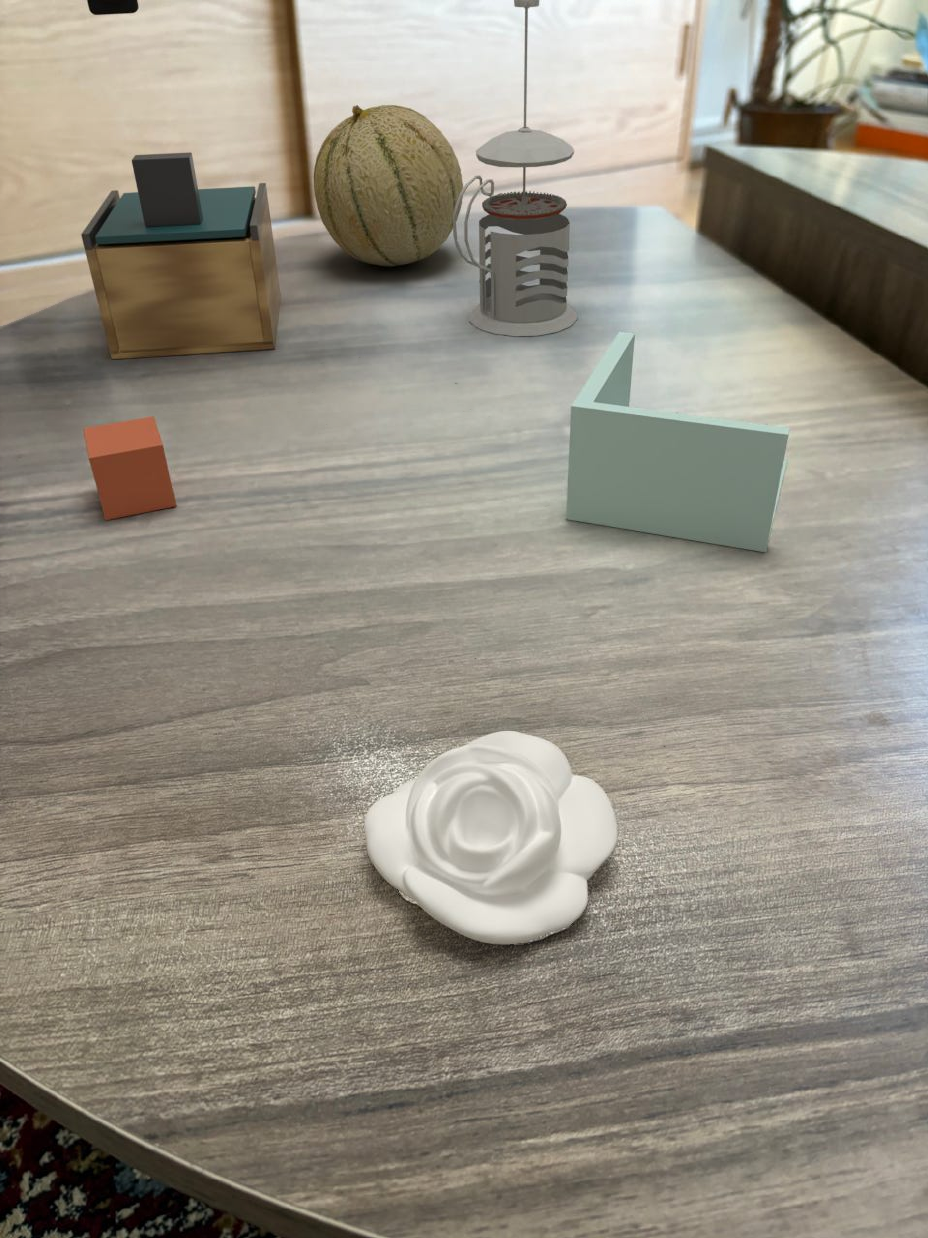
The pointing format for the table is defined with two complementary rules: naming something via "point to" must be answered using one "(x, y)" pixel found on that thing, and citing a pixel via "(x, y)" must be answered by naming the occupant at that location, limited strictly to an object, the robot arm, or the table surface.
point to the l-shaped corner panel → (669, 465)
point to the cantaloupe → (387, 185)
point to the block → (129, 467)
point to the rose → (494, 838)
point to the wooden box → (187, 289)
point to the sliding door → (175, 205)
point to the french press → (521, 236)
